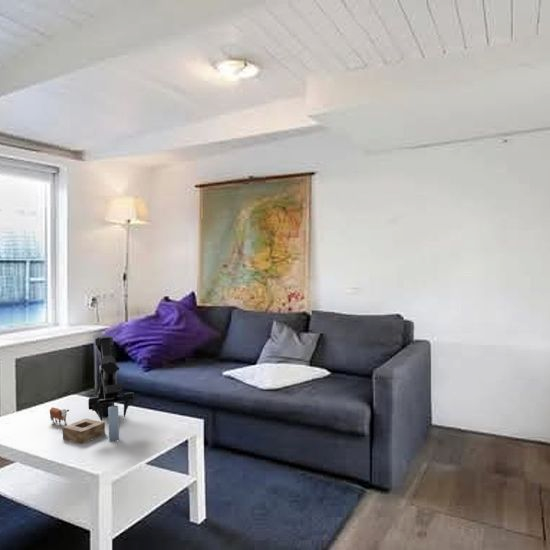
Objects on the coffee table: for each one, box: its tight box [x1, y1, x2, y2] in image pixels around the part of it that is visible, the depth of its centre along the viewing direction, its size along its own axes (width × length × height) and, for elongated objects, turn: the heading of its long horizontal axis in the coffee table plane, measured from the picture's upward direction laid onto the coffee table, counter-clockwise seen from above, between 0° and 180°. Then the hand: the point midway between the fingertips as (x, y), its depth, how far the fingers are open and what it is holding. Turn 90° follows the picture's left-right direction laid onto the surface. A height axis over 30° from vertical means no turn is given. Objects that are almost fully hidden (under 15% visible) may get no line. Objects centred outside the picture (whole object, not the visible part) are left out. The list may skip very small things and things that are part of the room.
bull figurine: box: [49, 406, 70, 427], centre depth 214 cm, size 4×13×8 cm, turn 53°
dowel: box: [107, 405, 120, 442], centre depth 194 cm, size 4×4×14 cm
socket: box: [62, 418, 106, 445], centre depth 198 cm, size 12×12×5 cm
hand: (113, 418), depth 195 cm, fingers open, 9 cm apart
